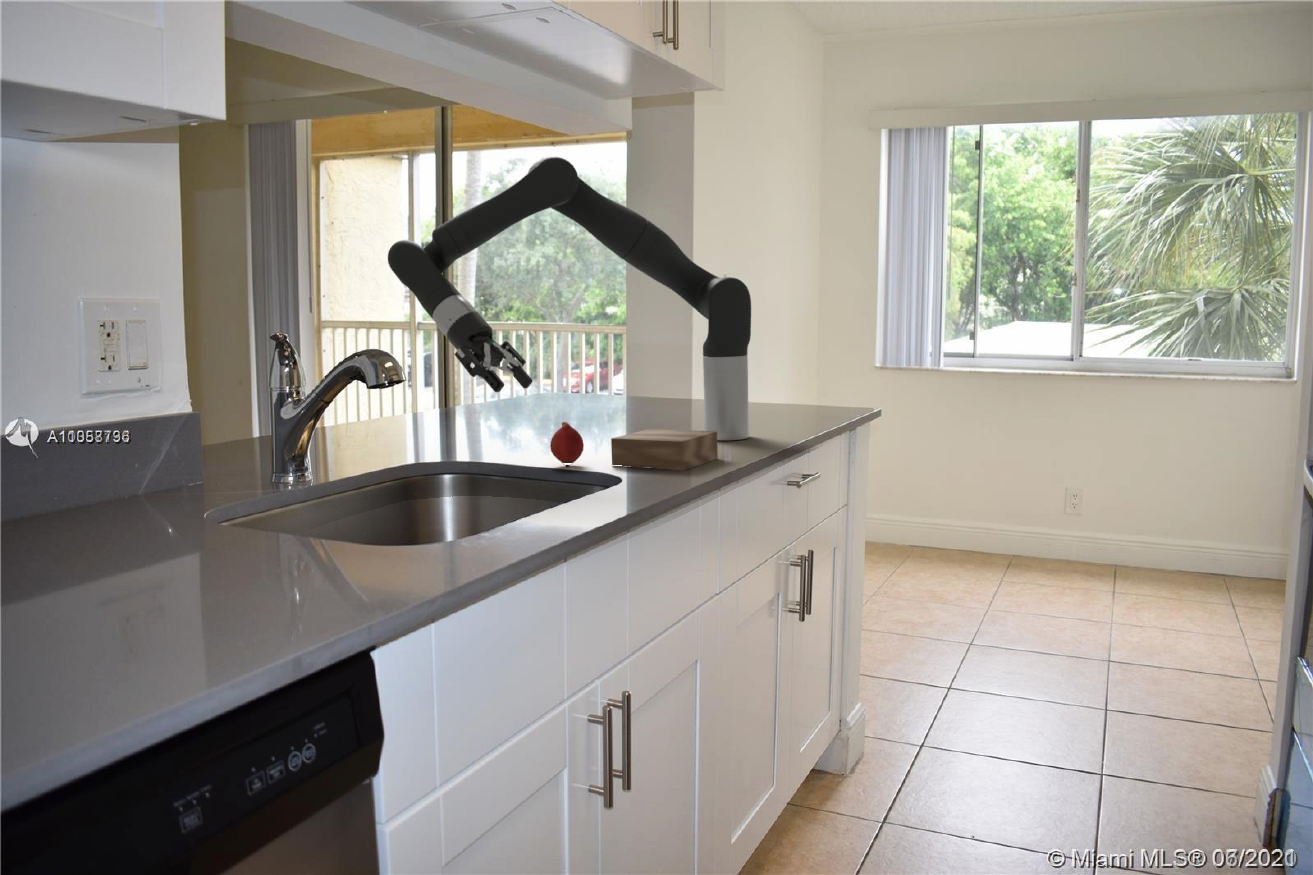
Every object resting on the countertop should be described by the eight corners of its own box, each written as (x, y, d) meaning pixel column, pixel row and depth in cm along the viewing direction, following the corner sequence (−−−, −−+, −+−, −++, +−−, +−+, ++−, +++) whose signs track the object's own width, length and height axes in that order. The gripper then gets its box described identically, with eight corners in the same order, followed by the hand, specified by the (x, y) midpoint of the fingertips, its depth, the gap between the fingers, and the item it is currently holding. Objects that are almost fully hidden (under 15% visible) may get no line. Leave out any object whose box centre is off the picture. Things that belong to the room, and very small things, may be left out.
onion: (572, 462, 182) (570, 418, 181) (590, 465, 178) (589, 421, 177) (545, 466, 179) (543, 421, 177) (563, 469, 174) (561, 424, 173)
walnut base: (650, 455, 188) (649, 428, 188) (717, 458, 182) (717, 431, 181) (612, 466, 176) (611, 438, 175) (682, 470, 169) (682, 441, 169)
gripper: (447, 310, 178) (502, 375, 174) (496, 309, 190) (549, 369, 186) (426, 341, 181) (479, 405, 177) (476, 337, 193) (527, 397, 189)
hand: (515, 387), depth 182 cm, fingers open, 8 cm apart
